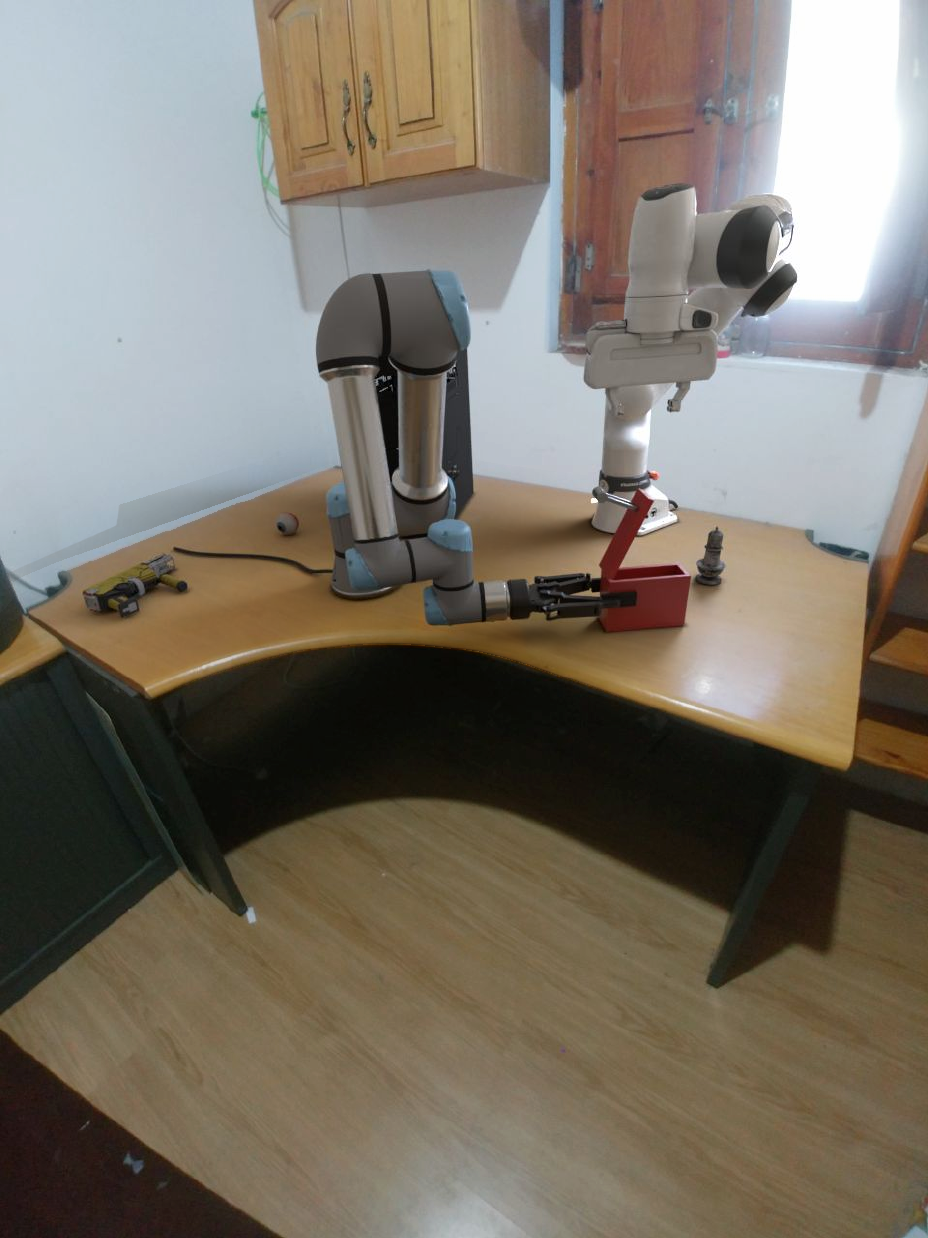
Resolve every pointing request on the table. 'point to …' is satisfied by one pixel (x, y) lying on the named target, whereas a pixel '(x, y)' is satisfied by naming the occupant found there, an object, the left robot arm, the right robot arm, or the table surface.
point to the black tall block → (455, 426)
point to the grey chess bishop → (711, 560)
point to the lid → (623, 527)
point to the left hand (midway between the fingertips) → (630, 590)
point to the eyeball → (287, 523)
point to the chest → (647, 597)
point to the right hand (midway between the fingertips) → (645, 413)
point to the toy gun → (131, 586)
